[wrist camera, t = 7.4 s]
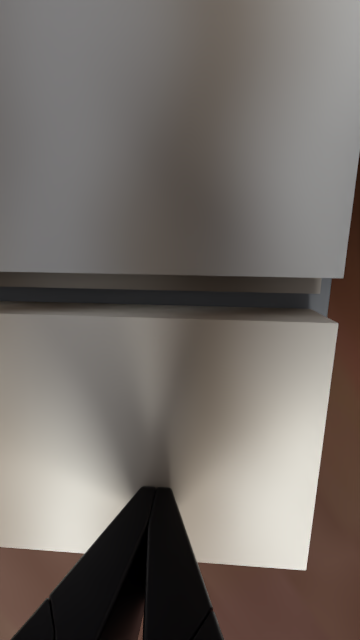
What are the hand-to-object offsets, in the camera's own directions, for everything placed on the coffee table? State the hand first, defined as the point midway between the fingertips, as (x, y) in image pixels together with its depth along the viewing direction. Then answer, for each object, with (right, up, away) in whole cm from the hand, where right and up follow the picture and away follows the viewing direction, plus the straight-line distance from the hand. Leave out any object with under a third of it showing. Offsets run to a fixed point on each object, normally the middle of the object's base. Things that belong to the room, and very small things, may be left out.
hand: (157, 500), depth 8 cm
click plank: (-5, +2, +2) cm, 5 cm away
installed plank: (-5, +10, +1) cm, 11 cm away
